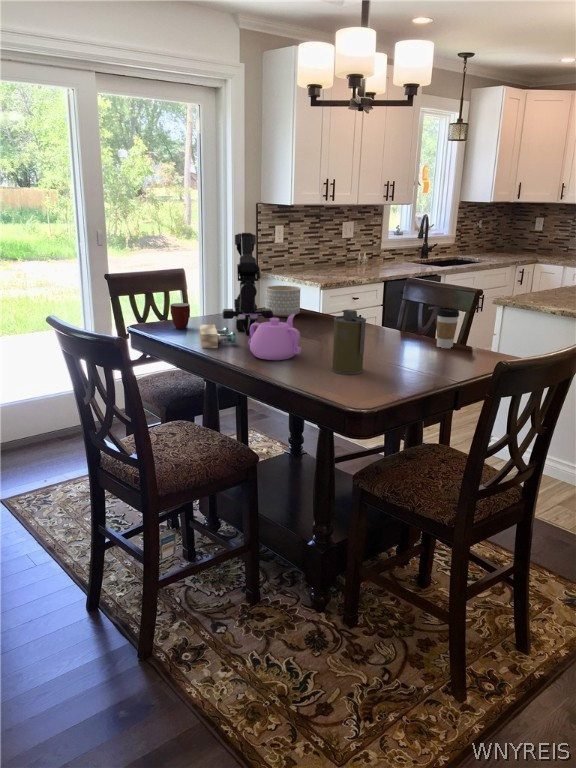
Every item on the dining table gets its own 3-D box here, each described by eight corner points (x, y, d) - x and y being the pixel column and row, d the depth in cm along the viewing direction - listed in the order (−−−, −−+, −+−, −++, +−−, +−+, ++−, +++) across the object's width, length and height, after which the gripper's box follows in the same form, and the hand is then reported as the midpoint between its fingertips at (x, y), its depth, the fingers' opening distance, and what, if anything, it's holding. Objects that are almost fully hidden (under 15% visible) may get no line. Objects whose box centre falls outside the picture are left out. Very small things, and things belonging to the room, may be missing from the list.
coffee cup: (437, 343, 240) (441, 305, 235) (458, 346, 236) (462, 308, 231) (430, 347, 233) (434, 308, 228) (452, 350, 229) (456, 311, 224)
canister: (325, 369, 200) (327, 310, 194) (345, 364, 207) (348, 306, 201) (350, 376, 193) (353, 315, 187) (370, 371, 200) (374, 311, 194)
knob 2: (234, 341, 232) (234, 331, 231) (235, 344, 228) (235, 333, 227) (208, 342, 230) (208, 331, 229) (209, 345, 226) (209, 334, 225)
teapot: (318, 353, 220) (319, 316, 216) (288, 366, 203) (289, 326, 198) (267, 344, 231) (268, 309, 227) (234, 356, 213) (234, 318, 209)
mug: (197, 329, 254) (196, 305, 251) (180, 331, 249) (180, 308, 246) (183, 325, 261) (183, 302, 258) (167, 327, 256) (166, 304, 253)
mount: (214, 337, 241) (214, 324, 239) (217, 347, 225) (217, 334, 223) (199, 337, 240) (199, 324, 238) (201, 348, 224) (201, 334, 222)
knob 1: (227, 337, 239) (227, 326, 238) (228, 339, 235) (228, 329, 234) (207, 337, 238) (207, 327, 237) (208, 340, 234) (207, 329, 233)
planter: (284, 310, 301) (285, 284, 297) (306, 315, 289) (307, 288, 285) (258, 313, 291) (258, 287, 287) (280, 319, 279) (280, 291, 275)
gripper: (268, 291, 235) (268, 330, 239) (220, 291, 231) (221, 331, 236) (273, 296, 224) (272, 337, 229) (223, 296, 221) (223, 338, 226)
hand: (247, 335), depth 230 cm, fingers closed
